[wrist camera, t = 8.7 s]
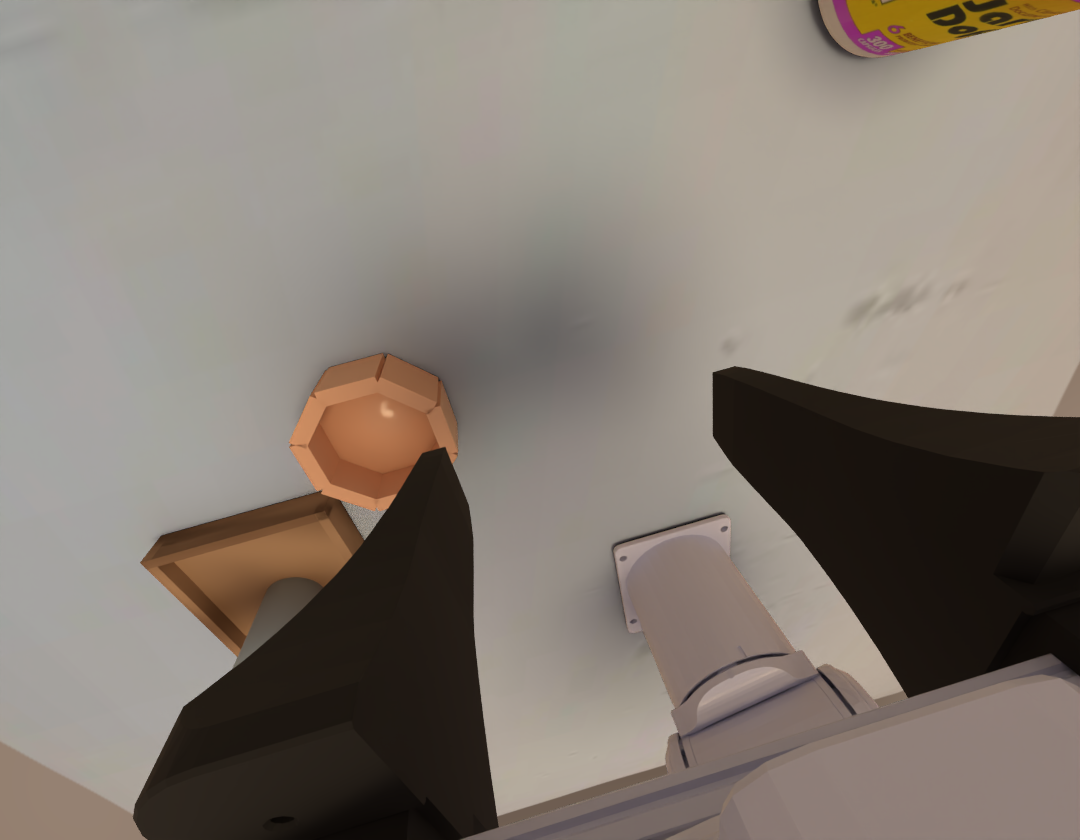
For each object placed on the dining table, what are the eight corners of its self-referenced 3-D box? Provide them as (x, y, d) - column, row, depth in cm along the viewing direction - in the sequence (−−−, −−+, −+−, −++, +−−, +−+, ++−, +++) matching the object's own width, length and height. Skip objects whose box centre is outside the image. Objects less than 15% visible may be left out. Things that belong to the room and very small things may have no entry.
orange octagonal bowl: (469, 455, 24) (471, 485, 21) (347, 488, 23) (337, 522, 21) (426, 341, 20) (424, 363, 18) (284, 379, 20) (263, 406, 18)
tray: (414, 622, 29) (411, 648, 28) (280, 661, 29) (271, 689, 27) (332, 488, 23) (324, 511, 22) (161, 535, 23) (140, 562, 21)
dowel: (336, 608, 26) (295, 764, 19) (280, 621, 26) (219, 784, 19) (314, 571, 24) (261, 727, 18) (255, 585, 24) (177, 749, 17)
